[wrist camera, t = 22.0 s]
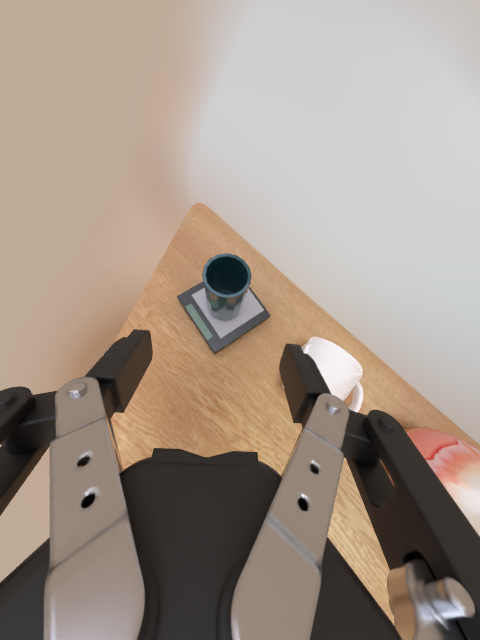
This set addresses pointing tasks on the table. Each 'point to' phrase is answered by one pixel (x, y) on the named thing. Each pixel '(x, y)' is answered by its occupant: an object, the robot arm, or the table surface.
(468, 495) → the vase
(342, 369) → the mug
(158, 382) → the table surface
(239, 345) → the table surface
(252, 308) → the scale
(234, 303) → the cup
